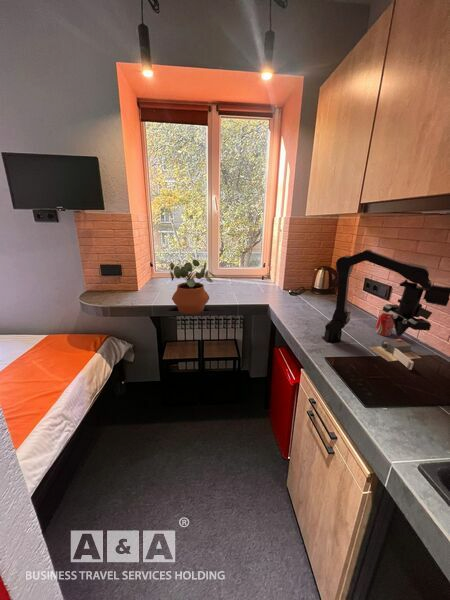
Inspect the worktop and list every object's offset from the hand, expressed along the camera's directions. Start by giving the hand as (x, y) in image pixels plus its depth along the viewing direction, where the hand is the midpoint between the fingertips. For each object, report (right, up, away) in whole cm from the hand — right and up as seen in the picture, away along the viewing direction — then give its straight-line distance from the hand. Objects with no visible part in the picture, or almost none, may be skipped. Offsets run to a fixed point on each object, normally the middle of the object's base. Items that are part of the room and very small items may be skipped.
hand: (398, 335), depth 98 cm
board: (+3, -9, +8) cm, 12 cm away
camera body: (+5, -8, +10) cm, 14 cm away
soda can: (+10, -3, +25) cm, 27 cm away
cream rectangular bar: (+1, -11, 0) cm, 11 cm away
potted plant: (-88, +9, +53) cm, 103 cm away
